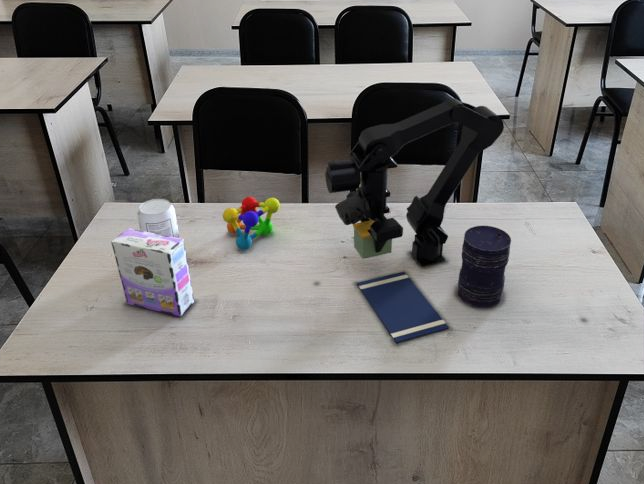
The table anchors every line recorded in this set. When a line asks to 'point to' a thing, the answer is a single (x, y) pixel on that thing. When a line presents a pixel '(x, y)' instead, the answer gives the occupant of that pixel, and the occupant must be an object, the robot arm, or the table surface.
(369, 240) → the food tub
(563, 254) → the table surface
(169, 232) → the supplement can
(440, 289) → the table surface
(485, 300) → the storage jar
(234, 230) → the molecular model
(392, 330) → the tea towel
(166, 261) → the candy box
